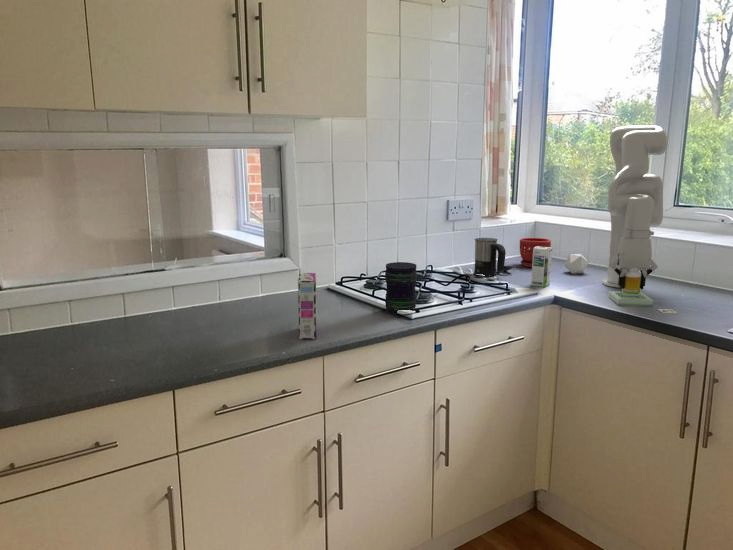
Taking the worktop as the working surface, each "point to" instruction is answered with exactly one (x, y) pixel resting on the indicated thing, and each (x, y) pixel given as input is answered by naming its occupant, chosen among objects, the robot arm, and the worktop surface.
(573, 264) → the die
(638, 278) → the supplement bottle
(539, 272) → the syrup box
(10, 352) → the worktop surface
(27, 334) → the worktop surface
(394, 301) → the storage jar
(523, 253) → the plant pot
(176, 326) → the worktop surface
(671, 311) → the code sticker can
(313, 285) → the candy bar box
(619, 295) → the green tray
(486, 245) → the milk frother
